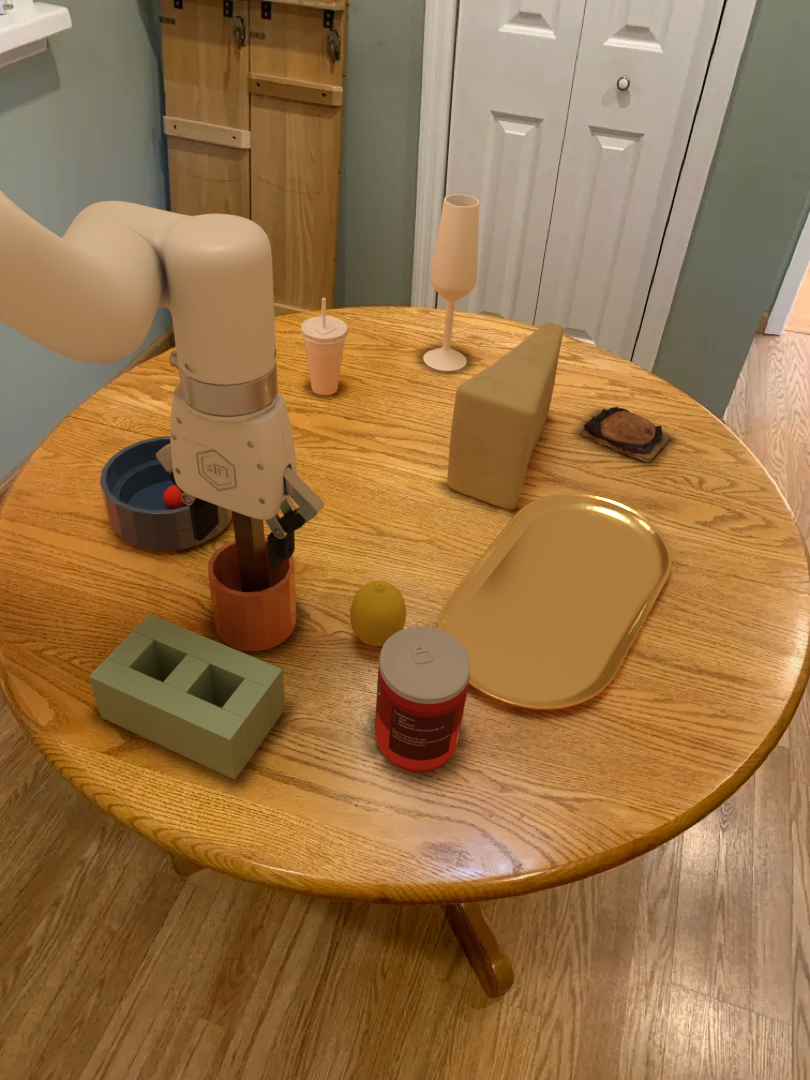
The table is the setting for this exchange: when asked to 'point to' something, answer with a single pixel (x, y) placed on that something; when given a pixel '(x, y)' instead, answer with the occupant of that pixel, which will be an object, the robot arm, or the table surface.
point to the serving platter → (557, 600)
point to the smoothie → (324, 350)
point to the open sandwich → (626, 433)
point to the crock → (251, 603)
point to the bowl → (148, 500)
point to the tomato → (173, 498)
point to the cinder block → (189, 694)
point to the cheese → (503, 419)
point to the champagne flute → (454, 269)
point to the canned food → (420, 697)
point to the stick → (251, 552)
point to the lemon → (377, 612)
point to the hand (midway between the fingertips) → (243, 544)
